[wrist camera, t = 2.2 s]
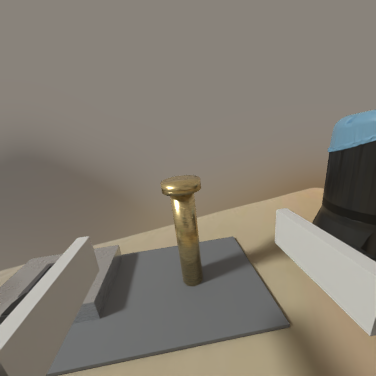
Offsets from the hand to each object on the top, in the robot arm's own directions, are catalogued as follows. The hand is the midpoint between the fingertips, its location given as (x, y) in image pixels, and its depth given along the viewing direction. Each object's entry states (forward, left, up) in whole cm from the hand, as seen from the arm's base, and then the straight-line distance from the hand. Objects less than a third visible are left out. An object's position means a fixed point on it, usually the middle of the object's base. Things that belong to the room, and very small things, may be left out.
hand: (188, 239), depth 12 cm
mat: (+9, -12, -15) cm, 21 cm away
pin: (0, -12, -15) cm, 19 cm away
